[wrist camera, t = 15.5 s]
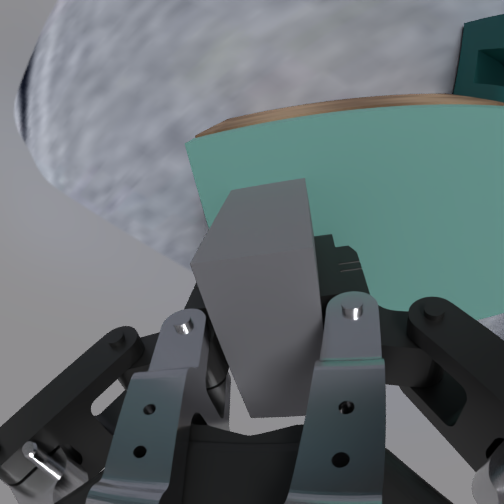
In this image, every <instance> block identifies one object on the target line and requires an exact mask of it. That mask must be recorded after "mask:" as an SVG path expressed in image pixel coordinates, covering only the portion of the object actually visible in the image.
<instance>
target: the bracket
mask: <svg viewBox="0 0 504 504" xmlns="http://www.w3.org/2000/svg"><path fill="white" fill-rule="evenodd" d="M453 95H461V96H468V97H475V98H481V99H487V100H493V101H498V102H503V103H504V14H502V15H497V16H492V17H488V18H483V19H479V20H475V21H471V22H467V23H464V31H463V39H462V47H461V54H460V60H459V66H458V72H457V78H456V83H455V88H454V93H453Z"/></svg>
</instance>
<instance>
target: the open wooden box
mask: <svg viewBox="0 0 504 504" xmlns="http://www.w3.org/2000/svg"><path fill="white" fill-rule="evenodd" d="M439 104H467V105H496V106H504V103H503V102H498V101H493V100H487V99H481V98H475V97H468V96H461V95H453V94H407V95H388V96H374V97H362V98H352V99H343V100H334V101H326V102H319V103H312V104H305V105H298V106H292V107H286V108H280V109H275V110H269V111H264V112H259V113H254V114H249V115H244V116H240V117H235V118H231V119H227V120H225V121H223V122H221V123H219V124H217V125H215V126H213V127H211V128H209V129H207V130H205V131H203V132H201V133H199V134H198V135H196V136H195V137H196V138H197V137H201V136H205V135H209V134H214V133H218V132H222V131H227V130H231V129H236V128H241V127H245V126H250V125H255V124H261V123H266V122H271V121H277V120H283V119H288V118H295V117H301V116H308V115H315V114H322V113H329V112H338V111H346V110H356V109H366V108H377V107H391V106H408V105H439Z"/></svg>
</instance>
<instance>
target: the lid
mask: <svg viewBox="0 0 504 504" xmlns="http://www.w3.org/2000/svg"><path fill="white" fill-rule="evenodd" d="M185 146H186V150H187V154H188V157H189V161H190V165H191V168H192V172H193V175H194V179H195V182H196V186H197V189H198V193H199V196H200V200H201V203H202V207H203V210H204V214H205V217H206V220H207V224H208V227H209V230H208V232H207V234H206V236H205V237H204V239H203V241H202V243H201V245H200V247H199V248H198V250H197V252H196V254H195V256H194V258H193V259H192V261H191V263H190V265H191V268H192V271H193V274H194V276H195V279H196V282H197V285H198V287H199V290H200V293H201V296H202V298H203V301H204V304H205V306H206V309H207V312H208V314H209V317H210V319H211V322H212V325H213V327H214V330H215V332H216V335H217V338H218V340H219V343H220V345H221V348H222V350H223V353H224V355H225V358H226V360H227V363H228V365H229V367H230V370H231V372H232V375H233V377H234V380H235V382H236V384H237V386H238V389H239V391H240V394H241V396H242V398H243V401H244V403H245V405H246V408H247V410H248V412H249V414H250V417H251V418H260V417H261V418H262V417H263V418H264V417H289V416H305V415H306V411H307V405H308V400H309V394H310V389H311V383H312V377H313V371H314V365H315V362H316V360H320V356H321V348H322V341H323V333H324V325H323V316H322V307H321V299H320V289H319V279H318V269H317V259H316V250H315V242H314V236H320V235H327V234H332V236H333V240H334V244H335V247H341V246H348V245H349V246H350V247H351V248H352V249H354V250H355V251H356V252H357V254H358V257H359V260H360V263H361V267H362V270H363V273H364V276H365V279H366V283H367V286H368V289H369V293H370V295H371V296H372V297H374V298H375V299H376V301H377V303H378V305H379V306H381V307H383V308H386V309H389V310H395V311H409V308H410V306H411V305H412V304H413V303H414V302H415V301H417V300H419V299H421V298H424V297H440V298H444V299H446V300H448V301H450V302H451V303H453V304H454V305H456V306H457V307H459V308H460V309H461V310H463V311H464V312H466V313H467V314H468V315H470V316H471V317H473V318H474V319H475V320H479V319H483V318H487V317H491V316H494V315H498V314H502V313H504V106H496V105H467V104H439V105H408V106H391V107H377V108H366V109H356V110H346V111H338V112H329V113H322V114H315V115H308V116H301V117H295V118H288V119H283V120H277V121H271V122H266V123H261V124H255V125H250V126H245V127H241V128H236V129H231V130H227V131H222V132H218V133H214V134H209V135H205V136H201V137H197V138H194V139H192V140H190V141H189V142H187V143H185Z"/></svg>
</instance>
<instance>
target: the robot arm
mask: <svg viewBox="0 0 504 504" xmlns="http://www.w3.org/2000/svg"><path fill="white" fill-rule="evenodd" d="M314 242H315V250H316V259H317V269H318V279H319V289H320V299H321V307H322V316H323V325H324V333H323V341H322V348H321V356H320V360H316V362H315V365H314V371H313V377H312V383H311V389H310V394H309V400H308V405H307V411H306V416H305V421H304V425H294V426H290V427H287V428H283V429H279V430H275V431H271V432H266V433H262V434H258V435H252V436H247V435H242V434H238V433H234V432H230V429H229V409H230V385H231V378H230V375H229V373H228V369H229V365H228V363H227V360H226V358H225V355H224V353H223V350H222V348H221V345H220V343H219V340H218V338H217V335H216V332H215V330H214V327H213V325H212V322H211V319H210V317H209V314H208V312H207V309H206V306H205V304H204V301H203V298H202V296H201V293H200V290H199V287H198V285H197V282H196V285H195V287H194V289H193V291H192V293H191V295H190V297H189V300H188V302H187V304H186V306H185V309H184V310H181V311H178V312H176V313H174V314H172V315H171V316H169V317H168V318H167V319H166V320H165V321H164V323H163V324H162V327H161V330H160V332H159V333H156V334H152V335H148V336H145V337H141V338H140V337H139V335H138V333H137V331H136V330H135V329H134V328H132V327H129V326H123V327H119V328H116V329H114V330H112V331H110V332H109V333H107V334H106V335H105V336H104V337H103V338H101V339H100V340H99V341H98V342H96V343H95V344H94V345H93V346H92V347H91V348H89V349H88V350H87V351H86V352H85V353H84V354H82V355H81V356H80V357H79V358H78V359H77V360H75V361H74V362H73V363H72V364H71V365H70V366H68V367H67V368H66V369H65V370H64V371H63V372H62V373H61V374H59V375H58V376H57V377H56V378H55V379H54V380H52V381H51V382H50V383H49V384H48V385H47V386H46V387H44V388H43V389H42V390H41V391H40V392H39V393H38V394H37V395H35V396H34V397H33V398H32V399H31V400H30V401H29V402H28V403H26V404H25V406H23V407H22V408H21V409H20V410H19V411H18V412H16V413H15V414H14V415H13V416H12V417H11V418H10V419H9V420H8V421H7V422H6V423H4V424H3V425H2V426H1V427H0V479H1V480H2V481H3V482H4V483H5V484H6V485H8V486H9V487H10V488H11V490H12V492H13V494H14V496H15V497H16V500H17V501H18V503H19V504H453V503H452V502H451V501H450V500H448V499H447V498H446V497H444V496H443V495H442V494H441V493H439V492H438V491H437V490H436V489H435V488H433V487H432V486H431V485H430V484H428V483H427V482H426V481H425V480H424V479H422V478H421V477H420V476H419V475H417V474H416V473H415V472H414V471H413V470H411V469H410V468H409V467H408V466H407V465H406V464H404V463H403V462H402V461H401V460H400V459H398V458H397V457H396V456H395V455H394V454H393V453H392V452H390V451H389V450H388V449H386V448H385V437H386V388H385V384H389V385H398V386H399V387H400V389H401V390H402V391H403V393H404V394H405V395H406V396H407V397H408V398H409V399H410V400H411V401H412V403H413V404H414V405H415V406H416V407H417V408H418V409H419V410H420V411H421V412H422V413H423V414H424V416H425V417H427V419H428V420H429V421H430V422H431V423H432V424H433V425H434V426H435V427H436V429H437V430H438V431H439V432H440V433H441V434H442V435H443V436H444V437H445V438H446V440H447V441H448V442H449V443H450V444H451V445H452V446H453V447H454V448H455V450H456V451H457V452H458V453H459V454H460V455H461V456H462V457H463V458H464V459H465V461H466V462H467V463H468V464H469V465H470V466H471V467H472V468H473V469H474V471H475V472H476V474H475V476H474V478H473V482H472V493H473V497H474V499H475V500H476V502H477V504H504V341H503V340H502V339H501V338H499V337H498V336H497V335H496V334H494V333H493V332H492V331H490V330H489V329H488V328H486V327H485V326H483V325H482V324H481V323H479V322H478V321H477V320H475V319H474V318H473V317H471V316H470V315H468V314H467V313H466V312H464V311H463V310H461V309H460V308H459V307H457V306H456V305H454V304H453V303H451V302H450V301H448V300H446V299H444V298H440V297H424V298H421V299H419V300H417V301H415V302H414V303H413V304H412V305H411V306H410V308H409V311H395V310H389V309H386V308H383V307H381V306H379V305H378V303H377V301H376V299H375V298H374V297H372V296H371V295H370V293H369V289H368V286H367V283H366V279H365V276H364V273H363V270H362V267H361V263H360V260H359V257H358V254H357V252H356V251H355V250H354V249H352V248H351V247H350V246H349V245H348V246H341V247H335V244H334V240H333V236H332V234H327V235H320V236H314ZM117 379H118V380H119V382H120V383H121V384H122V386H123V387H124V389H125V391H124V392H123V393H122V394H121V395H120V396H119V397H117V399H115V400H114V401H113V402H112V403H111V404H110V405H109V406H108V407H107V408H106V409H105V410H104V411H103V412H102V413H101V414H99V415H97V416H93V415H92V413H91V405H92V403H93V401H94V400H95V399H96V398H97V397H98V396H100V394H102V393H103V392H104V391H105V390H106V389H107V388H108V387H109V386H110V385H111V384H112V383H113V382H115V381H116V380H117ZM104 467H105V469H104V470H103V471H101V470H102V469H103V468H104ZM100 471H101V472H100ZM99 472H100V473H99Z"/></svg>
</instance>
